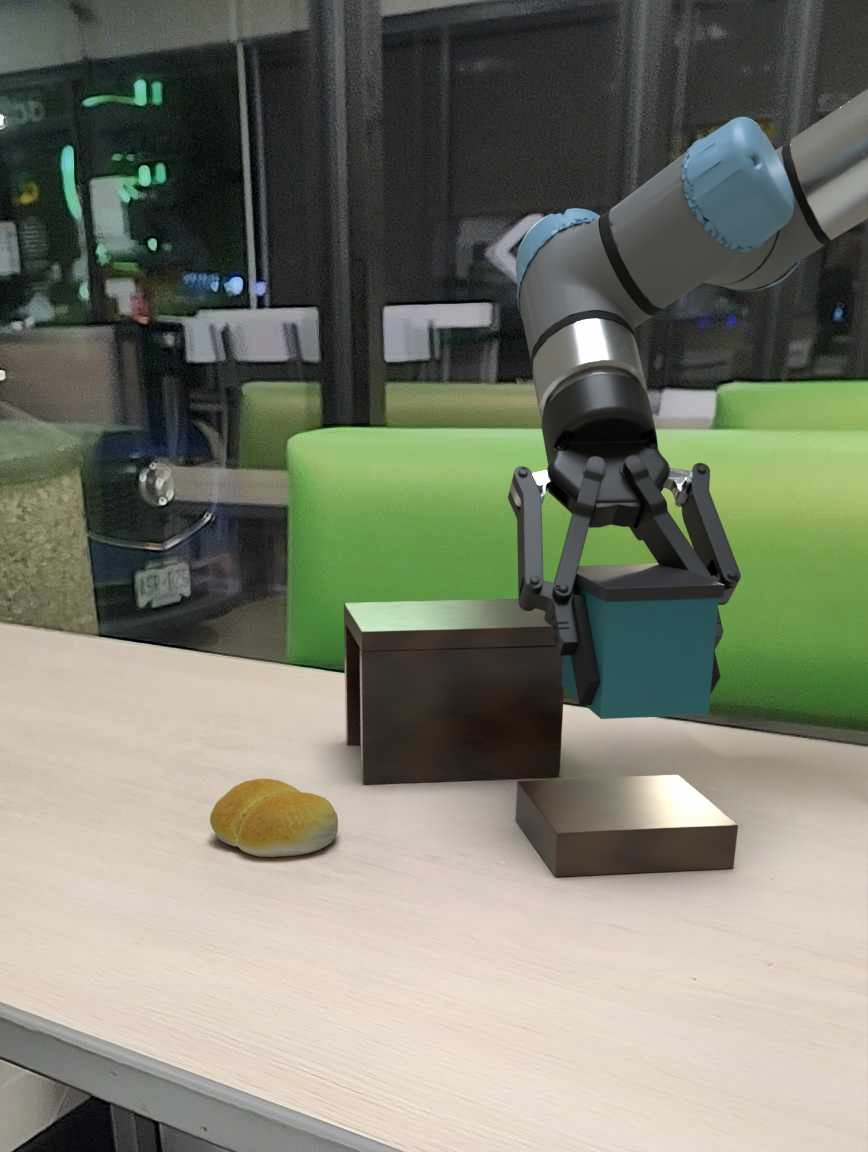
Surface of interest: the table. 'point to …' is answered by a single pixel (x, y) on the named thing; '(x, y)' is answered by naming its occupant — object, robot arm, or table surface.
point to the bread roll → (273, 819)
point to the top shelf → (452, 691)
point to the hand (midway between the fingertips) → (649, 691)
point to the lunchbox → (648, 639)
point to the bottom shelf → (624, 825)
